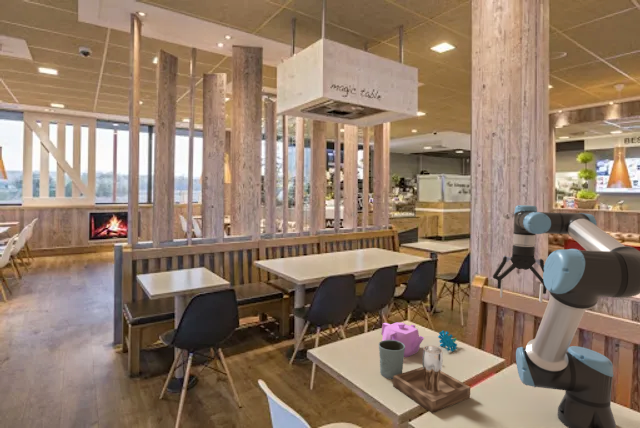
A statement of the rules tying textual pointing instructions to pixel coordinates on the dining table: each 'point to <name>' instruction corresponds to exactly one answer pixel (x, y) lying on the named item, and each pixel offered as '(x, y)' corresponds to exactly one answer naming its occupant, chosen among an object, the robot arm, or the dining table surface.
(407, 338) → the teakettle
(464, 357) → the dining table surface
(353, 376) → the dining table surface
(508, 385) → the dining table surface
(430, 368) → the beer glass
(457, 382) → the tray
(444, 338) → the teal spiky toy
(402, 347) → the grey green cup
